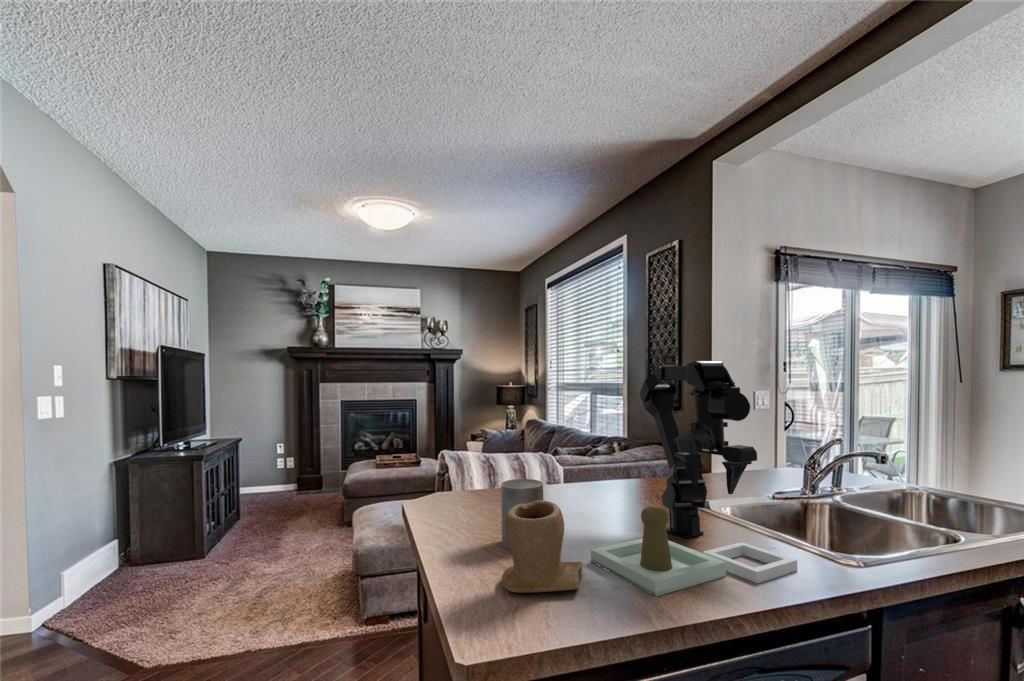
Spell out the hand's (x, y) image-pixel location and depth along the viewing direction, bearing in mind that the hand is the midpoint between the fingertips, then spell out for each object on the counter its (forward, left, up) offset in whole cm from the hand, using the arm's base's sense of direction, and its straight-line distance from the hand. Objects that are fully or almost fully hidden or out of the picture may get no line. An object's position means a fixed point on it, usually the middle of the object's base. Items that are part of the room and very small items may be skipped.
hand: (712, 489), depth 105 cm
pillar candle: (-24, -34, -13) cm, 44 cm away
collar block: (+9, -1, -13) cm, 16 cm away
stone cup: (-2, -42, -13) cm, 44 cm away
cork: (+1, -18, -13) cm, 22 cm away
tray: (+1, -18, -13) cm, 22 cm away
